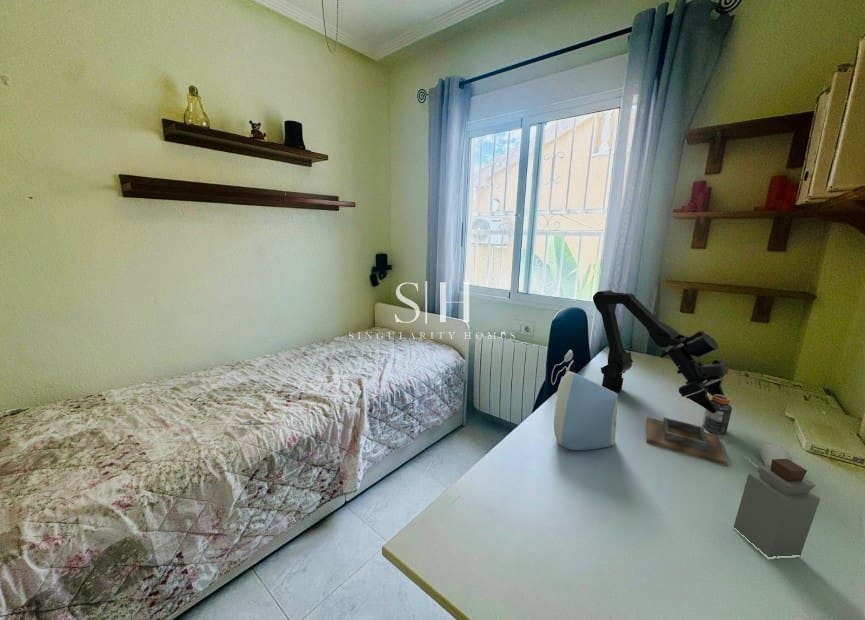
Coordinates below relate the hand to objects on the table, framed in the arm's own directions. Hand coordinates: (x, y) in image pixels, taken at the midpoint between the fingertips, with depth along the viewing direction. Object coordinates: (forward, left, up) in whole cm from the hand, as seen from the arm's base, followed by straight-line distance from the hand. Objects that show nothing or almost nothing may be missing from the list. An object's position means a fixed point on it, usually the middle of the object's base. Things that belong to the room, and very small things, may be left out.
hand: (720, 408), depth 101 cm
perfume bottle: (+2, -45, -8) cm, 45 cm away
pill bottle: (0, 0, -8) cm, 8 cm away
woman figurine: (+10, -15, -8) cm, 20 cm away
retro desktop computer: (-35, -27, -8) cm, 45 cm away
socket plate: (-9, -13, -7) cm, 18 cm away
